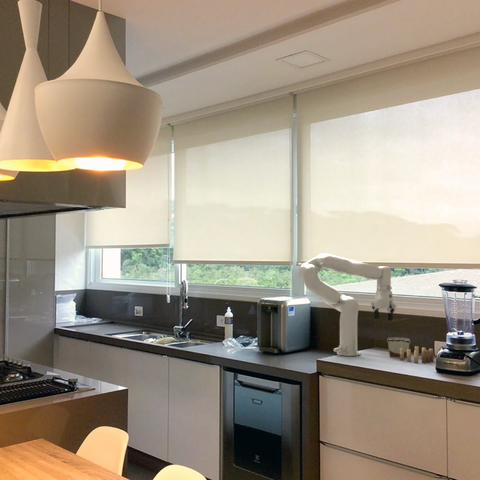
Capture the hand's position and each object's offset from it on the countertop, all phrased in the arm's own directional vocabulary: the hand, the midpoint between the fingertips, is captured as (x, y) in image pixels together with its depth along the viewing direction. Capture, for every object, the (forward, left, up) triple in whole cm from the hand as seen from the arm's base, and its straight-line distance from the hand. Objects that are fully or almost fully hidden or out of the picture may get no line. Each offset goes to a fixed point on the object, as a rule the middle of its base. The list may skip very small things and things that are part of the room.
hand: (383, 319), depth 308 cm
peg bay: (-1, -24, -19) cm, 31 cm away
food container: (0, -11, -19) cm, 22 cm away
